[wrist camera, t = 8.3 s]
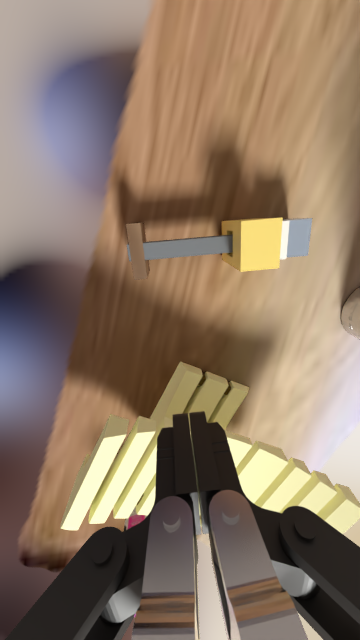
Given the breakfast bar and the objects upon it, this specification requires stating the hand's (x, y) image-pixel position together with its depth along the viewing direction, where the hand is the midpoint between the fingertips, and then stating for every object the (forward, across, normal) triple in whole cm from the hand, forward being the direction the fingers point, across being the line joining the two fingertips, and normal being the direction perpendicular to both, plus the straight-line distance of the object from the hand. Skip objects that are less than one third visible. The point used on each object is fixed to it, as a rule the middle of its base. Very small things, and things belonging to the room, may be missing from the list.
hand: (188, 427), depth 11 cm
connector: (+25, -15, -6) cm, 30 cm away
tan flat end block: (+25, +3, -6) cm, 26 cm away
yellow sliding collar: (+25, -9, -6) cm, 27 cm away
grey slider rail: (+21, -6, -6) cm, 23 cm away
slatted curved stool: (+25, -2, +22) cm, 34 cm away
